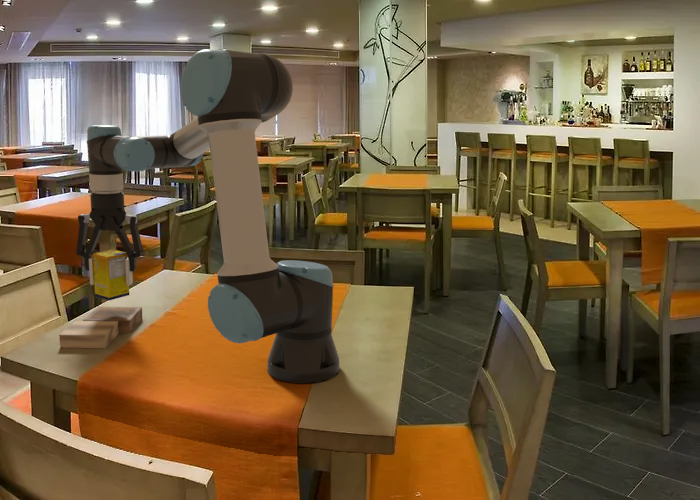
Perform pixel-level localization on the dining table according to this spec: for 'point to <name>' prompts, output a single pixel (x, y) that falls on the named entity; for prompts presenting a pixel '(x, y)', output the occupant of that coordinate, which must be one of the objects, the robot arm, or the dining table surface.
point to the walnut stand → (118, 316)
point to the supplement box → (110, 274)
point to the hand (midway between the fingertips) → (111, 283)
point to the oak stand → (89, 334)
